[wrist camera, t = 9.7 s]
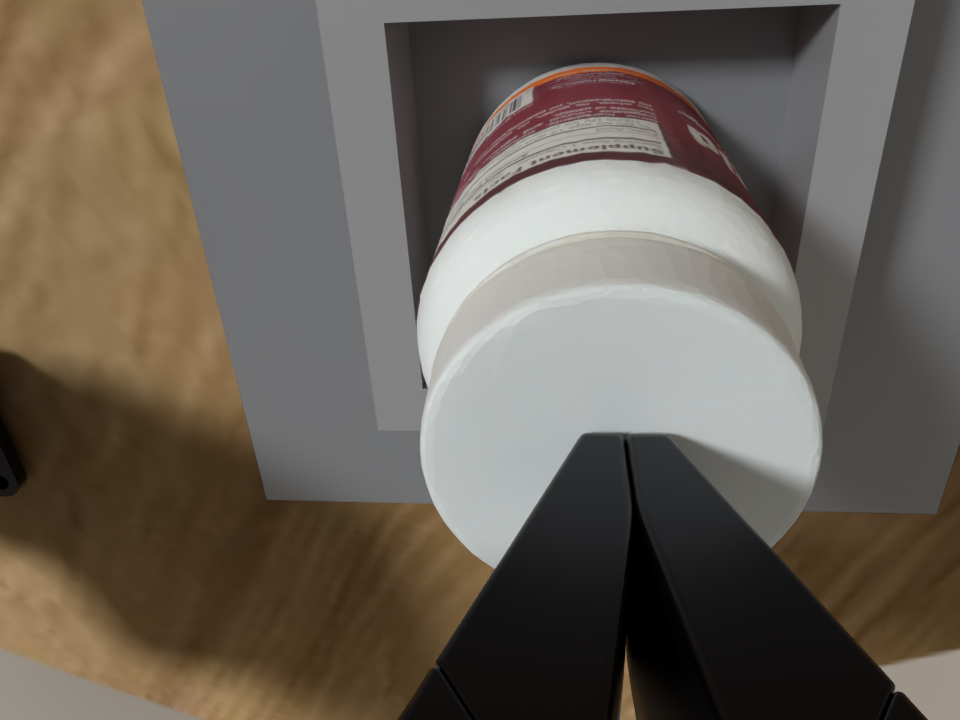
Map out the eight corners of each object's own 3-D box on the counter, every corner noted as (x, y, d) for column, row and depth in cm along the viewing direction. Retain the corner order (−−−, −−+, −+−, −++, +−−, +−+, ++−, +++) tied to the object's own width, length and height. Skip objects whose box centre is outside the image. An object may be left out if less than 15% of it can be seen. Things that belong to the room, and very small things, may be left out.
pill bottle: (737, 268, 16) (883, 599, 9) (505, 321, 17) (463, 654, 10) (698, 18, 13) (852, 185, 6) (432, 98, 14) (306, 318, 7)
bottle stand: (276, 479, 21) (239, 558, 18) (86, -319, 12) (-27, -364, 10) (923, 491, 19) (974, 579, 17) (1206, -419, 11) (1388, -501, 8)
